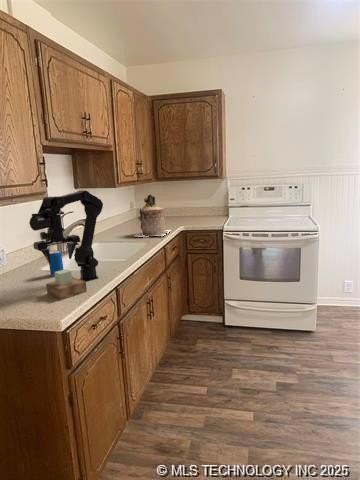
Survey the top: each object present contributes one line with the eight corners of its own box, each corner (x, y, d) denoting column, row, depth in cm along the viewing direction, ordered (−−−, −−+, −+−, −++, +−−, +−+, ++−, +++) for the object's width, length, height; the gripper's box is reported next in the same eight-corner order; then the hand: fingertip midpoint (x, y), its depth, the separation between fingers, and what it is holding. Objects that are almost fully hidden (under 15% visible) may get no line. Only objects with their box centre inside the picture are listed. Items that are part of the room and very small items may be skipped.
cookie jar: (172, 231, 284) (169, 192, 278) (164, 237, 260) (161, 194, 254) (143, 232, 290) (139, 193, 283) (132, 238, 266) (128, 196, 260)
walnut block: (73, 287, 159) (71, 276, 158) (86, 292, 150) (85, 281, 149) (47, 295, 151) (46, 283, 150) (60, 301, 142) (59, 289, 141)
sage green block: (66, 280, 153) (65, 269, 152) (72, 282, 149) (70, 271, 148) (55, 283, 150) (54, 272, 149) (61, 285, 146) (59, 274, 145)
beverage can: (65, 272, 183) (62, 250, 180) (61, 276, 176) (58, 253, 174) (53, 273, 183) (50, 250, 180) (49, 277, 176) (45, 253, 174)
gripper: (67, 221, 162) (72, 254, 165) (26, 228, 150) (31, 263, 153) (78, 223, 154) (83, 257, 157) (35, 230, 142) (41, 267, 145)
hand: (60, 261), depth 153 cm, fingers open, 9 cm apart
